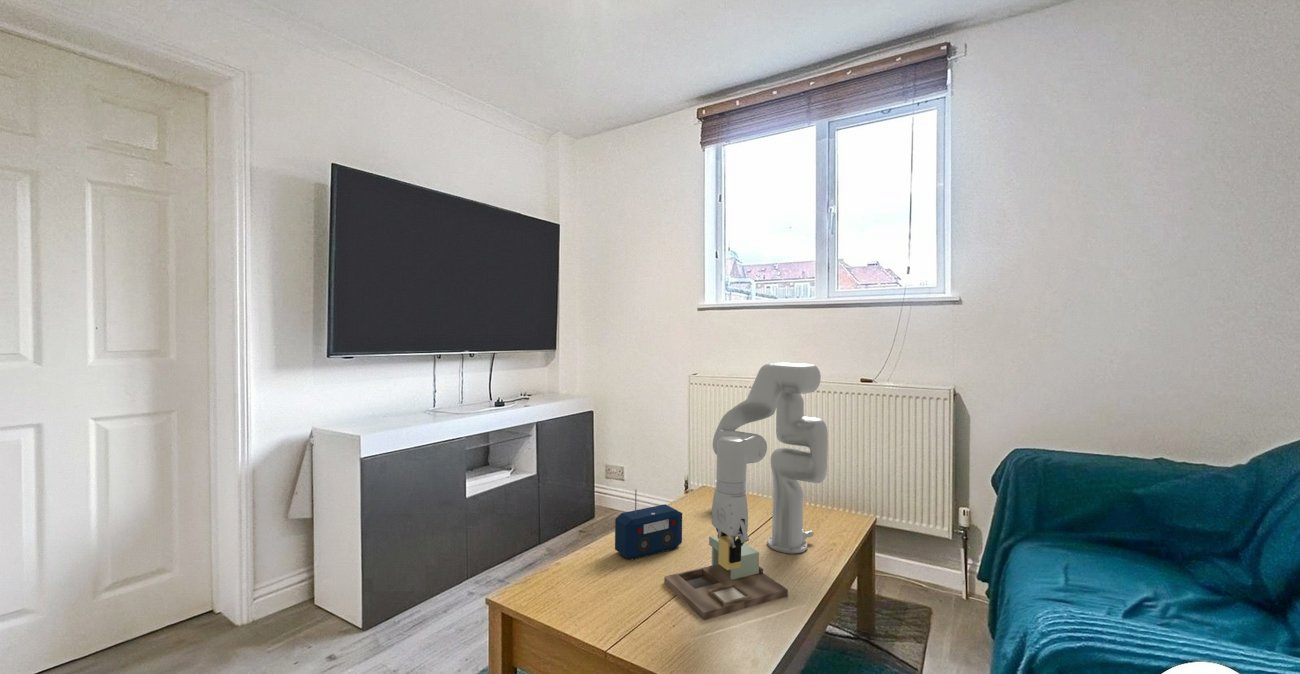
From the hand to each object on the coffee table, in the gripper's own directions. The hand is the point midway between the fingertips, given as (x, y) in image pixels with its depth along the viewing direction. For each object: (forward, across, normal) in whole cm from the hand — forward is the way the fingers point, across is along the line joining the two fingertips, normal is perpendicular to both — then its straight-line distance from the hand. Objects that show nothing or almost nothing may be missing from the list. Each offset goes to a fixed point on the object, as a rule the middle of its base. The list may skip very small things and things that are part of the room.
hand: (729, 557), depth 132 cm
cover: (+10, -11, +10) cm, 18 cm away
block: (+2, 0, 0) cm, 2 cm away
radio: (+12, -38, -4) cm, 40 cm away
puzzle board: (+12, -6, +3) cm, 14 cm away
